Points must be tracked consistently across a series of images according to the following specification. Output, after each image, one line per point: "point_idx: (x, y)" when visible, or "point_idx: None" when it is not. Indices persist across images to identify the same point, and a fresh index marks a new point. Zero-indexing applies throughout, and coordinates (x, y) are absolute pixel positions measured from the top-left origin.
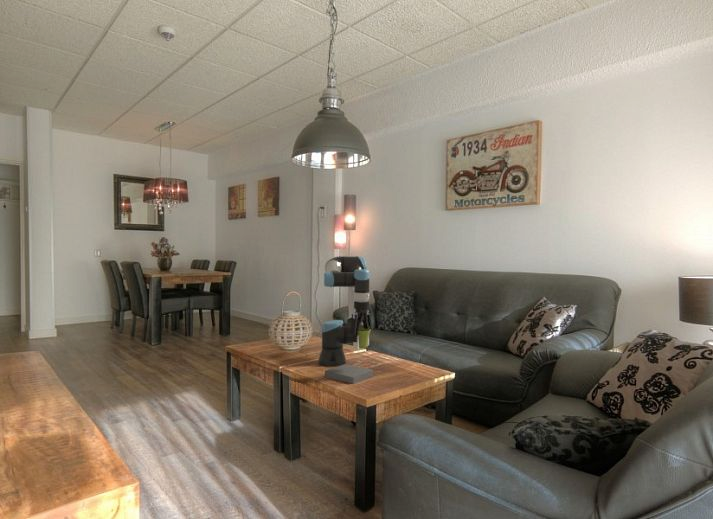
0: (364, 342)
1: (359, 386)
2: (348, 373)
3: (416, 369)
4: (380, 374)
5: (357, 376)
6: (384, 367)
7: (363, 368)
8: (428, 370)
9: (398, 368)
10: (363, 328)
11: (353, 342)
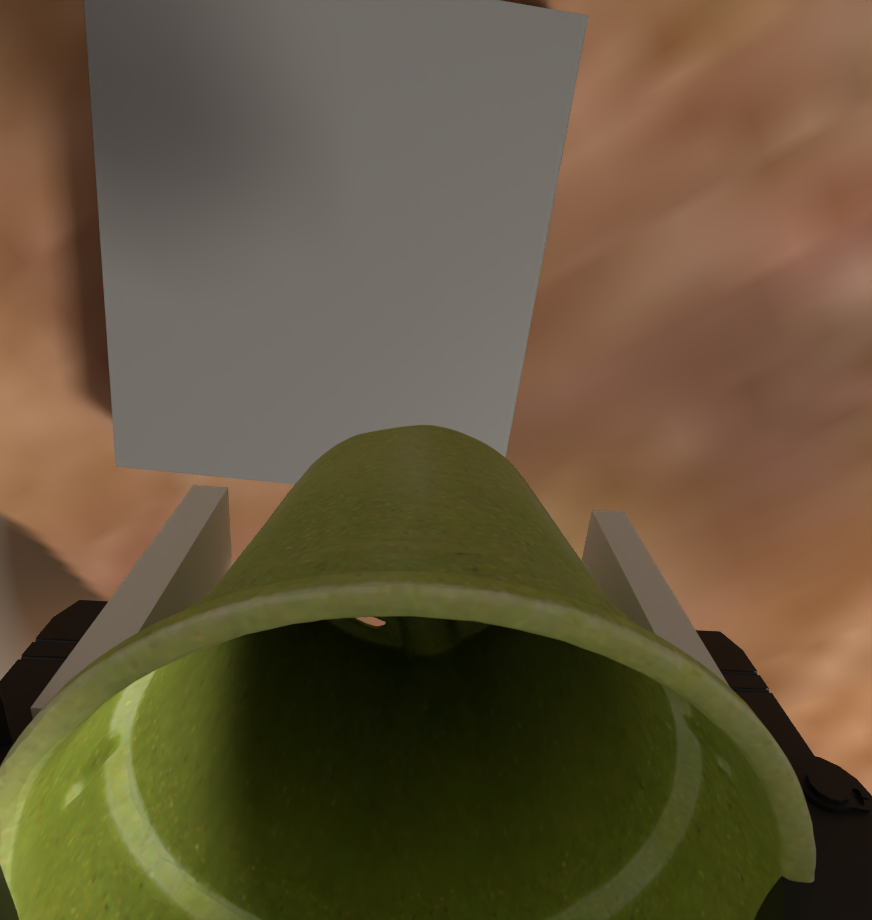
0: (327, 732)
1: (119, 522)
2: (202, 335)
3: (867, 686)
4: (575, 505)
5: (192, 470)
6: (849, 424)
7: (497, 381)
8: (864, 762)
9: (853, 554)
10: (775, 848)
11: (143, 557)
